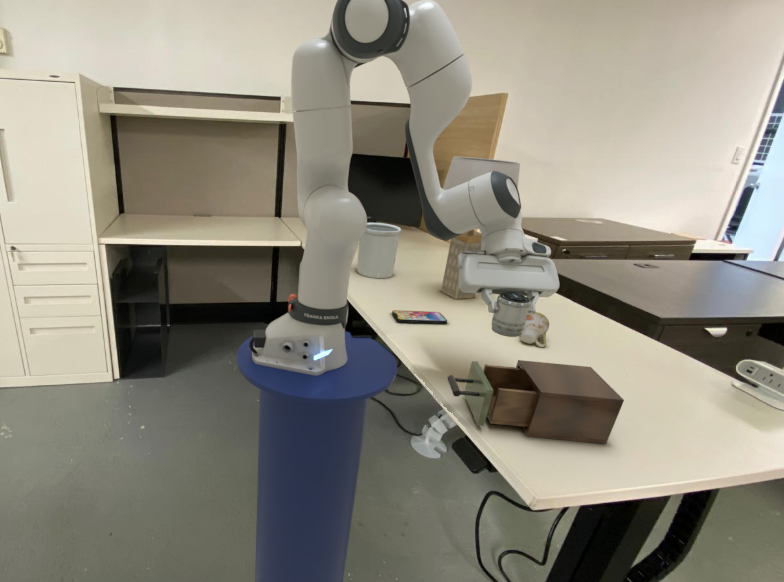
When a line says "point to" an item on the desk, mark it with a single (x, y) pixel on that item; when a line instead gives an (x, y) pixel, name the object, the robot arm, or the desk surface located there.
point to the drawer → (497, 394)
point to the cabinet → (570, 403)
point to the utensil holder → (378, 250)
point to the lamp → (471, 240)
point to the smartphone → (419, 317)
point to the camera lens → (510, 314)
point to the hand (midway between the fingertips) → (512, 312)
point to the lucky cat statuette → (535, 329)
